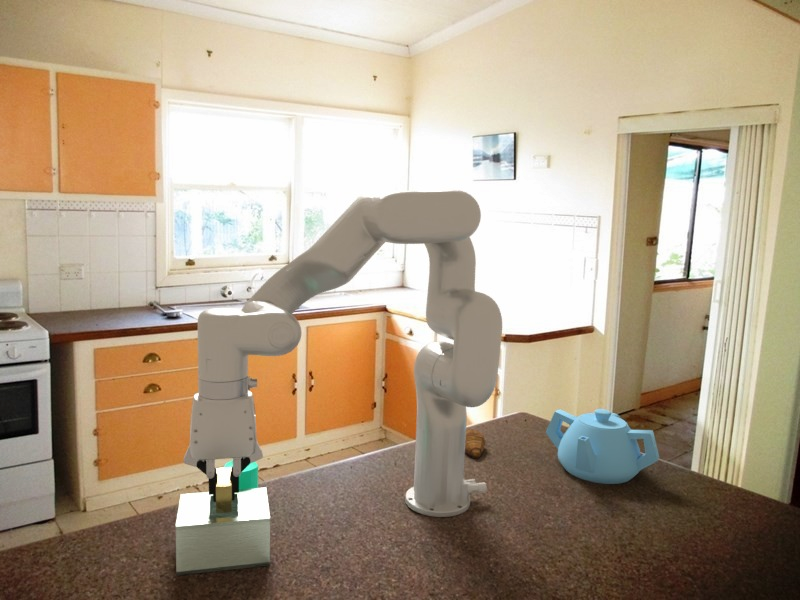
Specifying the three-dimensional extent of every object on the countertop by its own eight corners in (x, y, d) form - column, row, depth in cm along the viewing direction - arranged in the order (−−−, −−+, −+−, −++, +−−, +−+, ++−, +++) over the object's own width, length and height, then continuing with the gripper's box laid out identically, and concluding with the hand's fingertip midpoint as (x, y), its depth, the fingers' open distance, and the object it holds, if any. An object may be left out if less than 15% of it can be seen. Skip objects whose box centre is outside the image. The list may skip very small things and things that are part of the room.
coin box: (265, 530, 112) (266, 487, 111) (269, 565, 101) (270, 518, 100) (181, 538, 108) (180, 494, 107) (176, 575, 98) (175, 526, 97)
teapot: (544, 453, 151) (549, 397, 149) (621, 453, 154) (627, 397, 152) (575, 490, 133) (581, 426, 130) (662, 489, 135) (669, 426, 133)
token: (231, 467, 105) (231, 486, 101) (231, 492, 107) (231, 512, 102) (216, 468, 105) (215, 487, 100) (216, 493, 106) (216, 513, 102)
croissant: (491, 460, 147) (492, 440, 146) (462, 460, 146) (463, 440, 145) (479, 439, 160) (480, 420, 159) (452, 439, 159) (453, 419, 159)
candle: (249, 530, 112) (249, 465, 110) (217, 526, 113) (217, 461, 111) (263, 514, 117) (263, 452, 116) (233, 510, 119) (232, 448, 117)
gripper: (273, 378, 106) (272, 483, 109) (171, 382, 102) (173, 491, 105) (276, 392, 99) (275, 503, 102) (167, 396, 95) (169, 513, 98)
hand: (224, 496), depth 103 cm, fingers closed on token, 2 cm apart
